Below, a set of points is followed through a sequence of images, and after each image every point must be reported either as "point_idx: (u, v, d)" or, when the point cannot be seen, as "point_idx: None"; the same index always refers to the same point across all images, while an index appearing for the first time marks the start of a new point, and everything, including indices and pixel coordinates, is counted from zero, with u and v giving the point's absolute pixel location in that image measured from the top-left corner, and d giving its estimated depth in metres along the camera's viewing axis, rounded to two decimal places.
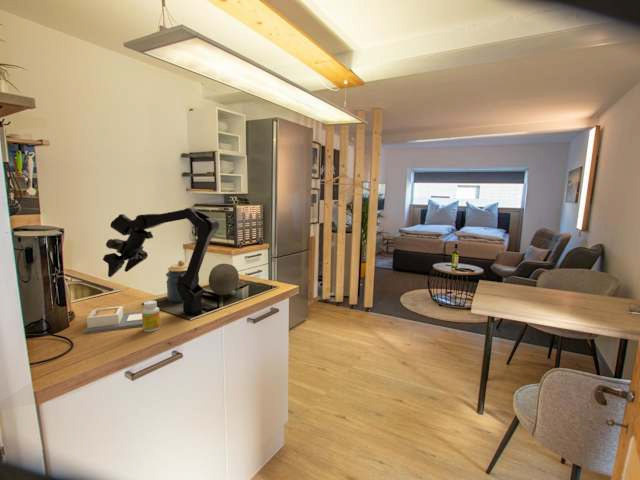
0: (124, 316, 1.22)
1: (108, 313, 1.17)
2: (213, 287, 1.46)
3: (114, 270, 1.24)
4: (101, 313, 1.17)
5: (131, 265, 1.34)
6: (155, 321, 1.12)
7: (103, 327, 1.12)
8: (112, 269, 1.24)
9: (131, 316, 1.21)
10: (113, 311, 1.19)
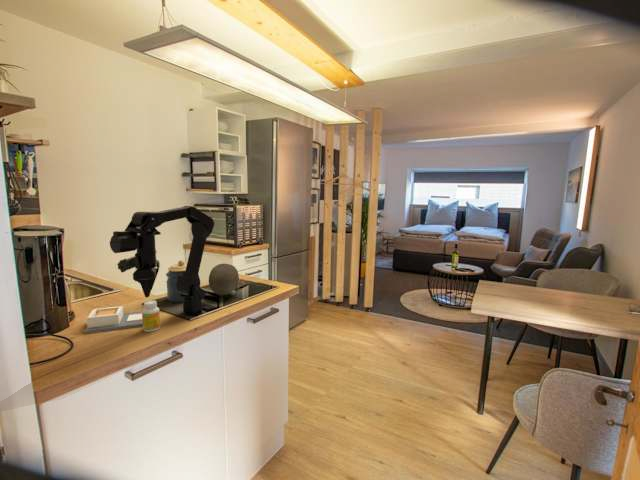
0: (124, 316, 1.22)
1: (108, 313, 1.17)
2: (213, 287, 1.46)
3: (150, 285, 1.06)
4: (101, 313, 1.17)
5: None
6: (155, 321, 1.12)
7: (103, 327, 1.12)
8: (147, 286, 1.06)
9: (131, 316, 1.21)
10: (113, 311, 1.19)
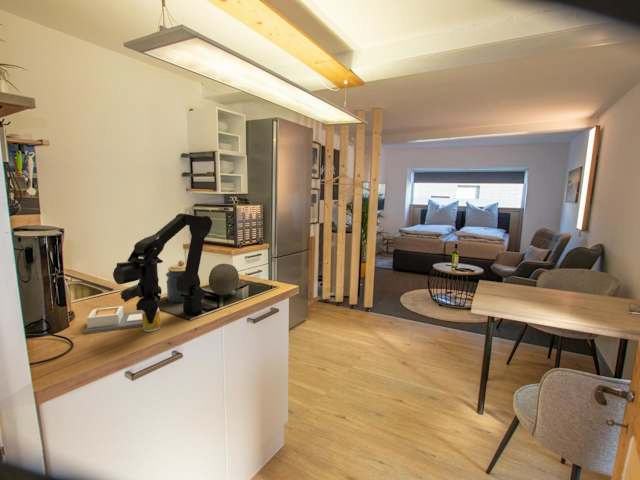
0: (124, 316, 1.22)
1: (108, 313, 1.17)
2: (213, 287, 1.46)
3: (154, 312, 1.09)
4: (101, 313, 1.17)
5: None
6: (155, 321, 1.12)
7: (103, 327, 1.12)
8: (150, 313, 1.09)
9: (131, 316, 1.21)
10: (113, 311, 1.19)
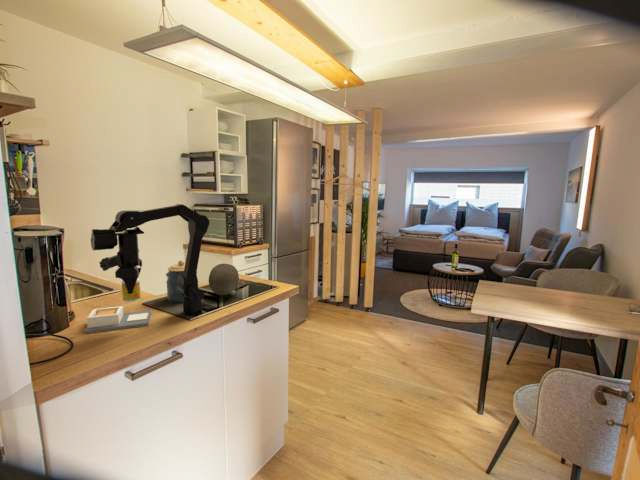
0: (124, 316, 1.22)
1: (108, 313, 1.17)
2: (213, 287, 1.46)
3: (133, 282, 1.09)
4: (101, 313, 1.17)
5: None
6: (135, 292, 1.11)
7: (103, 327, 1.12)
8: (130, 282, 1.09)
9: (131, 316, 1.21)
10: (113, 311, 1.19)
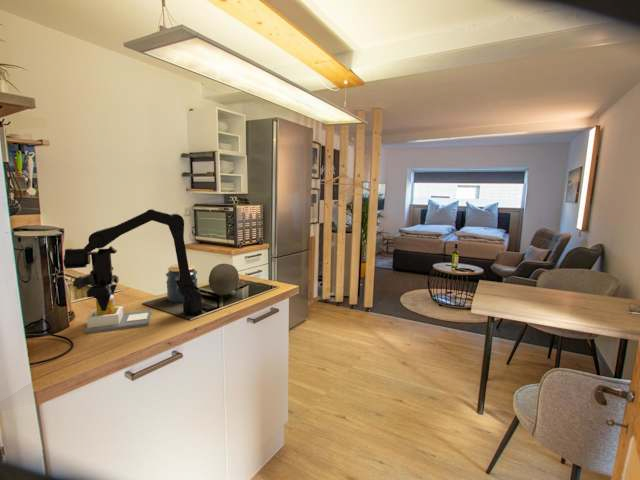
0: (124, 316, 1.22)
1: None
2: (213, 287, 1.46)
3: (106, 300, 1.13)
4: None
5: None
6: (109, 309, 1.15)
7: (103, 327, 1.12)
8: (103, 300, 1.12)
9: (131, 316, 1.21)
10: None
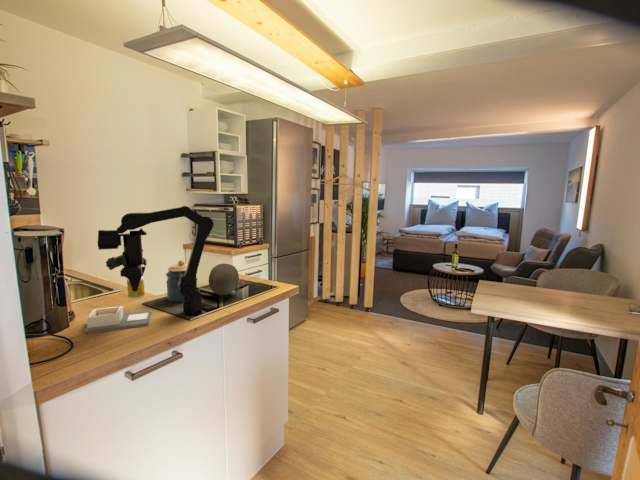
0: (124, 316, 1.22)
1: None
2: (213, 287, 1.46)
3: (138, 280, 1.16)
4: None
5: None
6: (139, 289, 1.18)
7: (103, 327, 1.12)
8: (135, 281, 1.15)
9: (131, 316, 1.21)
10: None
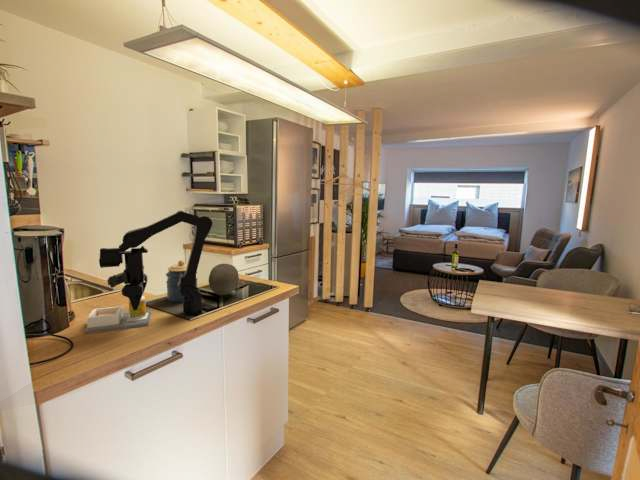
0: (124, 316, 1.22)
1: None
2: (213, 287, 1.46)
3: (138, 299, 1.15)
4: None
5: None
6: (141, 309, 1.19)
7: (103, 327, 1.12)
8: (135, 300, 1.15)
9: None
10: None
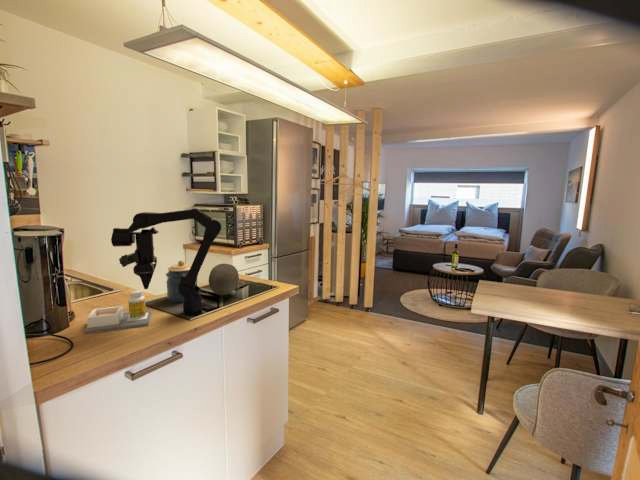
0: (124, 316, 1.22)
1: None
2: (213, 287, 1.46)
3: (149, 278, 1.18)
4: None
5: None
6: (141, 309, 1.19)
7: (103, 327, 1.12)
8: (146, 279, 1.18)
9: None
10: None
